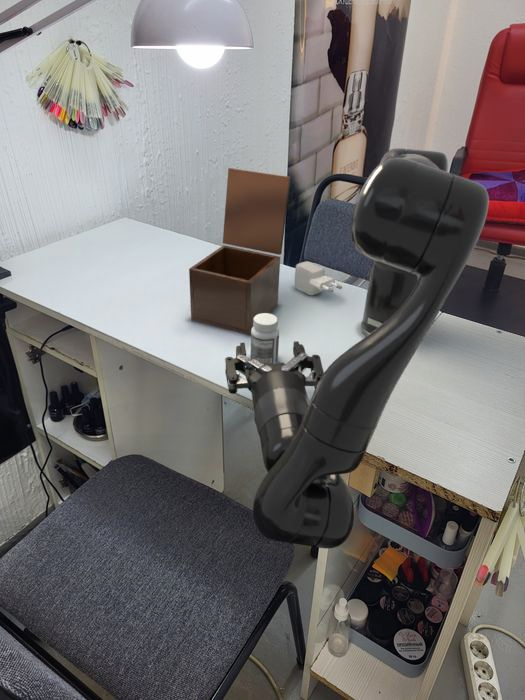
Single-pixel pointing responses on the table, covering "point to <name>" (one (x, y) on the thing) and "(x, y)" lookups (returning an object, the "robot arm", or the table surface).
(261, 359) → the pill bottle
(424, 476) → the table surface
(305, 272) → the power adapter
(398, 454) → the table surface
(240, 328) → the supply box
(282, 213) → the lid
